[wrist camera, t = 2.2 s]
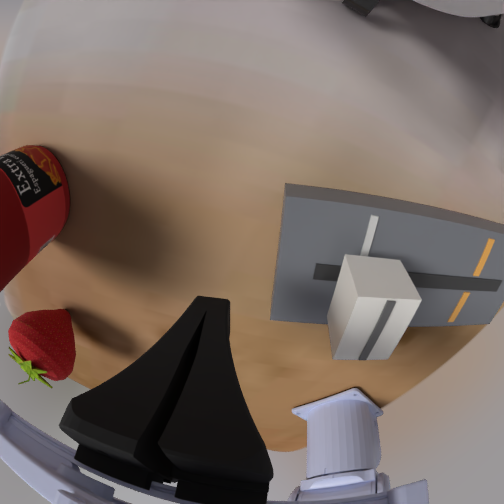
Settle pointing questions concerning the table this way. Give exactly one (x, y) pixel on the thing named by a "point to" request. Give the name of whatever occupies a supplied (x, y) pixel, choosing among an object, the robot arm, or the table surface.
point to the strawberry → (44, 344)
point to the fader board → (386, 255)
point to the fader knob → (370, 308)
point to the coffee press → (447, 8)
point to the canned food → (29, 206)
